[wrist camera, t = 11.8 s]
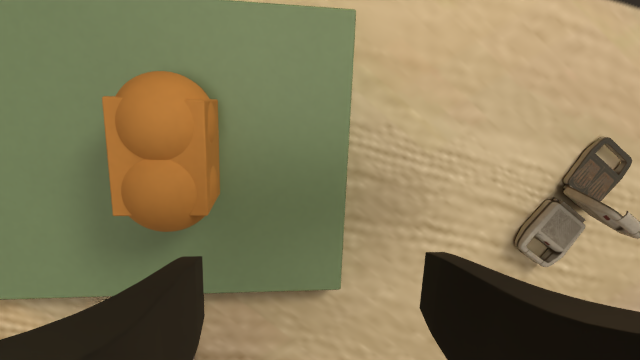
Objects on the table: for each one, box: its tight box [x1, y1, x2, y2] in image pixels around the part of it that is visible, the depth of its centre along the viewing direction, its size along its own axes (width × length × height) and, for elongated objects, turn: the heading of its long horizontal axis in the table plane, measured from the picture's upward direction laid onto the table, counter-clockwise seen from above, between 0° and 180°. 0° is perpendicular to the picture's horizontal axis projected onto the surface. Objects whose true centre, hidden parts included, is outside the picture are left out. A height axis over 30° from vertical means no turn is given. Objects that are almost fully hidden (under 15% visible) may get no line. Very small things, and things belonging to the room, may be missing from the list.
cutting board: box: [0, 0, 356, 300], centre depth 18 cm, size 15×20×1 cm
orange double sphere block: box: [102, 71, 220, 232], centre depth 16 cm, size 7×4×4 cm, turn 178°
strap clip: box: [515, 137, 640, 267], centre depth 21 cm, size 8×3×4 cm, turn 143°
